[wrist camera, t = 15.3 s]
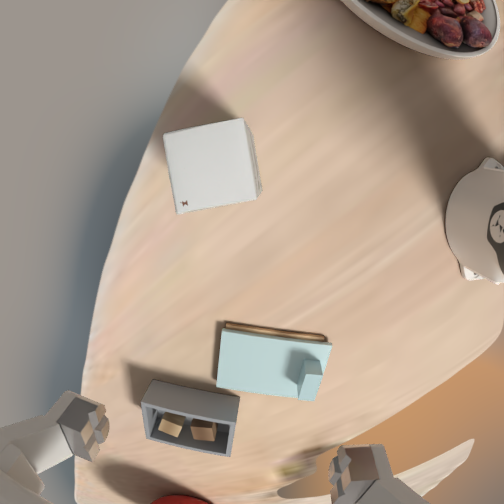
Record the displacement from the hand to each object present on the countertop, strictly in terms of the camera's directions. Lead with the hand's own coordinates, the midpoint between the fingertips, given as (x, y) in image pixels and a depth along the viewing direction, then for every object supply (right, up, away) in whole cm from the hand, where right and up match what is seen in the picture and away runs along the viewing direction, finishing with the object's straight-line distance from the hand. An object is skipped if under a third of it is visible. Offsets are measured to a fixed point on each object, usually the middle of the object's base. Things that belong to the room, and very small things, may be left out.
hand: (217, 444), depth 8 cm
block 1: (-12, -21, +38) cm, 46 cm away
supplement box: (-2, +17, +28) cm, 33 cm away
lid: (+4, -11, +34) cm, 36 cm away
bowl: (+25, +47, +18) cm, 56 cm away
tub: (-9, -21, +39) cm, 45 cm away
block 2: (-6, -22, +38) cm, 44 cm away
